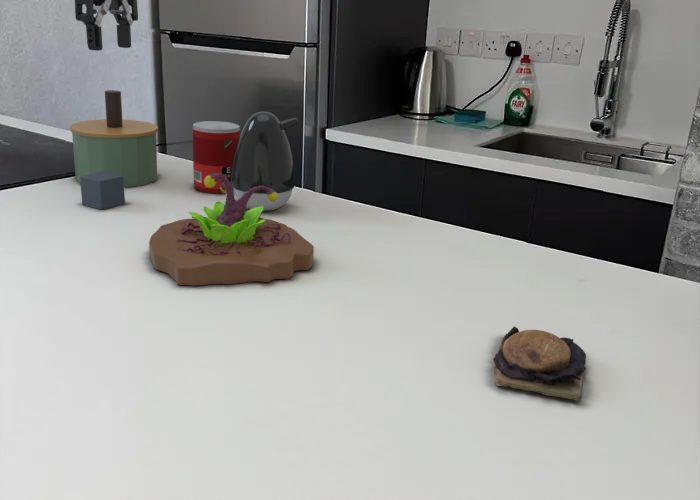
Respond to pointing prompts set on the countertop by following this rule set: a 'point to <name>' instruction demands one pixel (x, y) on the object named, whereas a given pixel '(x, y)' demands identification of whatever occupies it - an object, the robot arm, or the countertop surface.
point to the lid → (113, 122)
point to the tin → (117, 157)
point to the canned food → (213, 152)
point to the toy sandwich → (540, 363)
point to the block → (102, 190)
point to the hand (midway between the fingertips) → (110, 48)
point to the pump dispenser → (264, 161)
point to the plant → (229, 243)
